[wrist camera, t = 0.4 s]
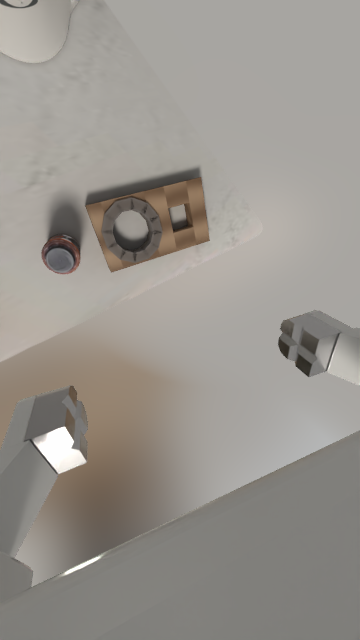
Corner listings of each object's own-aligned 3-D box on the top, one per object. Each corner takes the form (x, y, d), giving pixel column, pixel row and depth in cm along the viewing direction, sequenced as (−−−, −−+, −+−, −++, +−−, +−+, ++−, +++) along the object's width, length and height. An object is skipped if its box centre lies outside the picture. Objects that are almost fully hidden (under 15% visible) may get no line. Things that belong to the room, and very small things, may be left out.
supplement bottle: (61, 226, 44) (57, 232, 34) (86, 250, 47) (89, 261, 38) (39, 248, 44) (29, 259, 34) (66, 270, 47) (63, 286, 38)
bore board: (85, 205, 44) (85, 205, 41) (194, 178, 49) (202, 176, 46) (109, 269, 50) (111, 273, 48) (203, 239, 56) (210, 240, 53)
